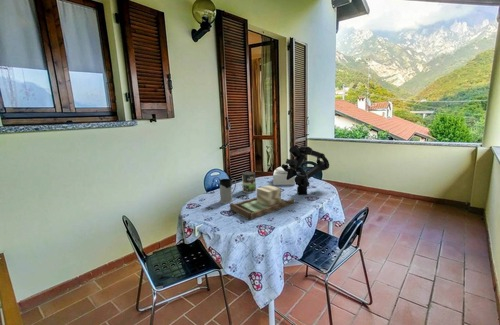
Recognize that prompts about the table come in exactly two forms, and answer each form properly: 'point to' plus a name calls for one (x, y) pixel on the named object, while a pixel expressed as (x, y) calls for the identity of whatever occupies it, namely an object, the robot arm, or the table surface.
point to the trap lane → (257, 207)
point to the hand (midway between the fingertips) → (287, 179)
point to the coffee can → (249, 182)
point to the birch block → (268, 195)
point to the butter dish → (282, 177)
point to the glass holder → (226, 190)
